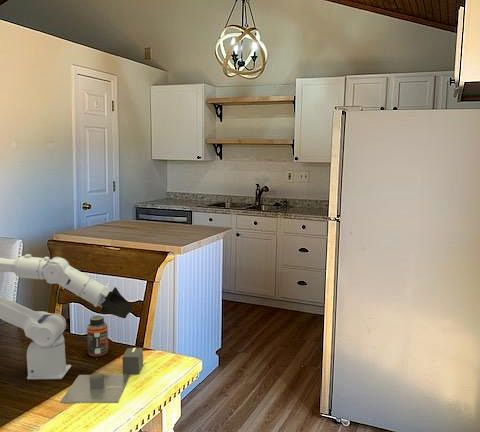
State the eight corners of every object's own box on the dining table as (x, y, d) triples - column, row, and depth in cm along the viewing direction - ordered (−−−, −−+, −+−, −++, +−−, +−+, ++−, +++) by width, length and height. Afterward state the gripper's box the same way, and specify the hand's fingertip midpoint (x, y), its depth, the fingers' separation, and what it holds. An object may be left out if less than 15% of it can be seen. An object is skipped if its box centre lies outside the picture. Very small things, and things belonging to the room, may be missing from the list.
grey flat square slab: (60, 402, 120) (59, 389, 120) (79, 376, 134) (78, 364, 134) (117, 402, 120) (116, 389, 120) (130, 376, 134) (129, 364, 134)
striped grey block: (139, 374, 135) (138, 356, 134) (123, 374, 135) (122, 356, 134) (143, 364, 141) (142, 347, 140) (128, 364, 141) (127, 347, 140)
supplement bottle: (102, 358, 145) (101, 321, 144) (84, 356, 147) (82, 320, 145) (111, 350, 151) (110, 314, 150) (94, 348, 152) (92, 313, 151)
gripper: (95, 268, 129) (140, 294, 130) (91, 281, 141) (132, 305, 143) (80, 290, 125) (126, 317, 127) (77, 302, 138) (119, 326, 139)
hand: (129, 312), depth 134 cm, fingers open, 7 cm apart
